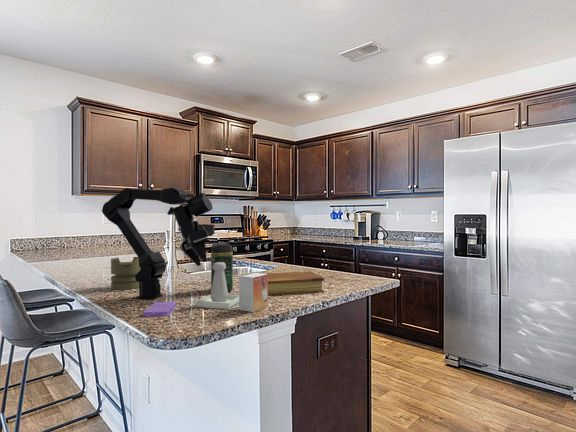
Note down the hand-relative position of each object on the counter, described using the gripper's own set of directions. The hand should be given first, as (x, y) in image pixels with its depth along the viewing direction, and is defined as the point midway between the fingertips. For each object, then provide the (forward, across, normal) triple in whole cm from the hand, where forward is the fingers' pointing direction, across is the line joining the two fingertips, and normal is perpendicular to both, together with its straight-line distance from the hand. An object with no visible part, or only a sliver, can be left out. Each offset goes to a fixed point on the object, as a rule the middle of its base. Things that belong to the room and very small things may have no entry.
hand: (202, 263), depth 124 cm
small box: (+20, -15, -6) cm, 26 cm away
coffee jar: (+12, +15, -7) cm, 20 cm away
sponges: (+10, -4, +18) cm, 21 cm away
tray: (+15, -4, 0) cm, 15 cm away
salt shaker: (+14, -4, 0) cm, 15 cm away
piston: (-4, +38, +22) cm, 44 cm away
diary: (+22, +6, -30) cm, 37 cm away
